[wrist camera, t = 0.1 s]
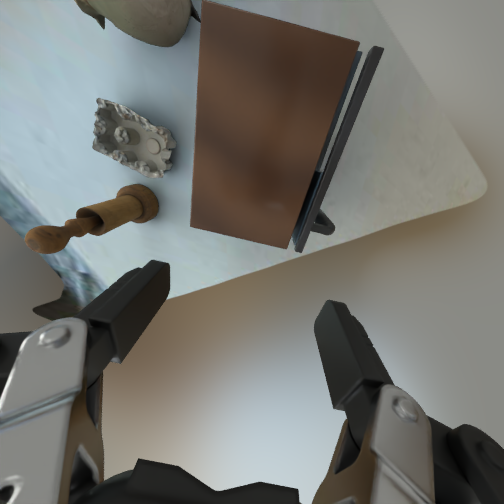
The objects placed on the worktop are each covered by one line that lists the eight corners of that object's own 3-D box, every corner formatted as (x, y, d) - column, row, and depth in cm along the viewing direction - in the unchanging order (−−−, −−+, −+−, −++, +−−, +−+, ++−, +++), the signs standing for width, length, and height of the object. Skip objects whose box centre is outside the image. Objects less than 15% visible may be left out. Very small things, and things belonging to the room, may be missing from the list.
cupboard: (239, 84, 25) (201, -3, 11) (320, 105, 25) (384, 47, 11) (224, 194, 32) (189, 227, 18) (287, 209, 33) (301, 253, 19)
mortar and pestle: (122, 179, 32) (-16, 205, 17) (158, 188, 33) (55, 222, 17) (126, 215, 36) (13, 264, 20) (159, 223, 36) (73, 278, 20)
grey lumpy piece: (181, 135, 28) (169, 132, 25) (169, 180, 32) (157, 184, 28) (112, 96, 27) (88, 87, 23) (107, 148, 30) (85, 148, 27)
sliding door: (299, 164, 28) (321, 172, 16) (327, 171, 28) (368, 184, 16) (284, 210, 31) (294, 245, 20) (309, 216, 31) (333, 254, 20)
